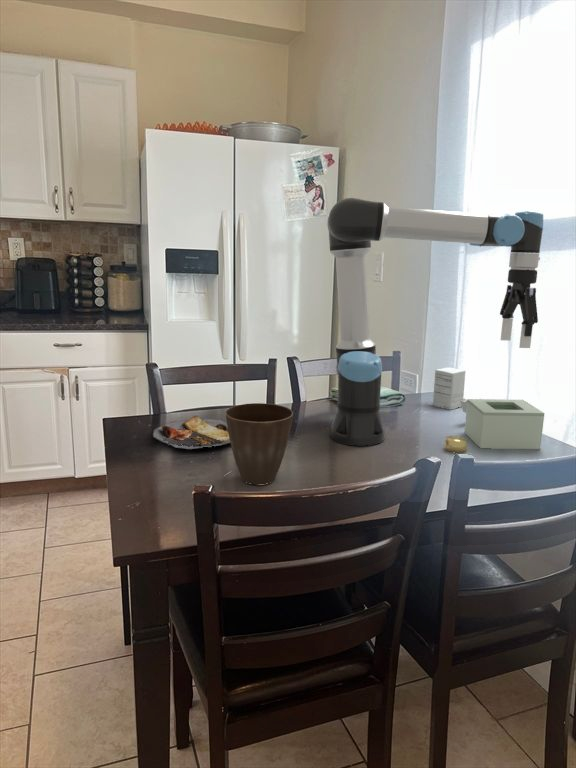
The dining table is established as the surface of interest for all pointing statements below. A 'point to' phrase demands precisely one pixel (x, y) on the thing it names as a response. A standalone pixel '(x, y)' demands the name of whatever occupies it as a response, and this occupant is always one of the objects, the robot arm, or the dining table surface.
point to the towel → (381, 397)
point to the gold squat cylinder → (455, 444)
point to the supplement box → (448, 388)
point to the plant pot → (258, 439)
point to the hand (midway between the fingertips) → (514, 344)
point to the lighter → (464, 404)
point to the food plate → (195, 424)
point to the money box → (504, 424)
